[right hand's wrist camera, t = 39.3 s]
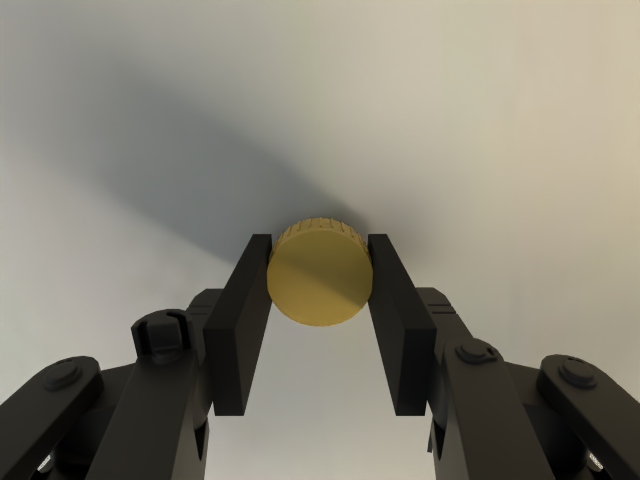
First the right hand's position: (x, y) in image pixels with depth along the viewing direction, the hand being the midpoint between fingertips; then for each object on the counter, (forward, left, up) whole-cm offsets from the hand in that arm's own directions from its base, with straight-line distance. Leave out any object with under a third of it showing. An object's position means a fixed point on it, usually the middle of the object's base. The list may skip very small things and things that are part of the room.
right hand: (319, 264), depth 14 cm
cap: (0, 0, +1) cm, 1 cm away
